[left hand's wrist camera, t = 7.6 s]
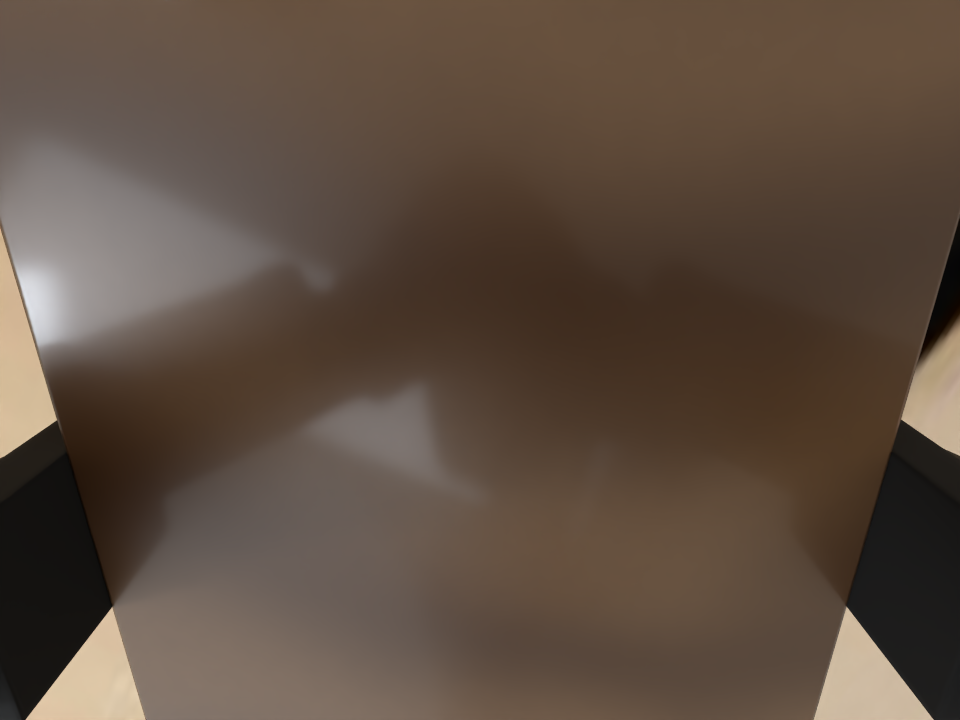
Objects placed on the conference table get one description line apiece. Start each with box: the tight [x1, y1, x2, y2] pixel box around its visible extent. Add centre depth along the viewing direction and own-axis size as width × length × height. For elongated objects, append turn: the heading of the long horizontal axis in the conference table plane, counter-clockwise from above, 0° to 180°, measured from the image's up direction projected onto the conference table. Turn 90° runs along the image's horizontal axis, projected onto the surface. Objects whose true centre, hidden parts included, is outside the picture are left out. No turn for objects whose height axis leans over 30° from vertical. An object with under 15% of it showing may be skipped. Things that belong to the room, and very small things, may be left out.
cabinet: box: [0, 0, 960, 720], centre depth 11 cm, size 19×11×10 cm, turn 0°
